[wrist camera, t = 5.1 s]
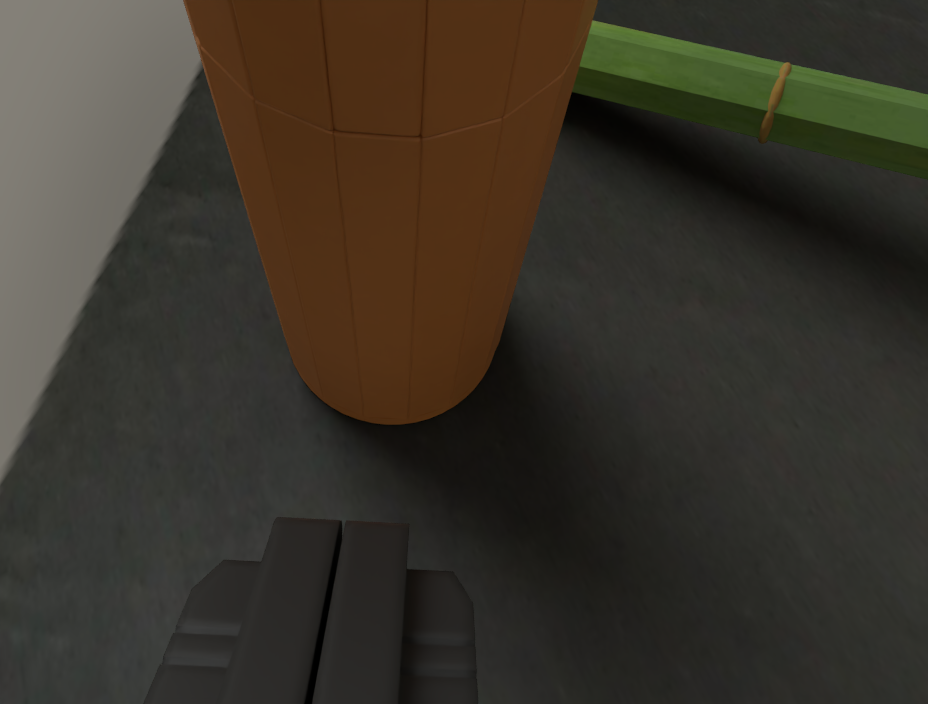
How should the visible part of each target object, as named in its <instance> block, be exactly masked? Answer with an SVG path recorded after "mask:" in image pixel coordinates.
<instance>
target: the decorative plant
mask: <svg viewBox="0 0 928 704" xmlns="http://www.w3.org/2000/svg"><path fill="white" fill-rule="evenodd" d="M572 92H575V93H579V94H583V95H587V96H591V97H595V98H599V99H603V100H607V101H611V102H615V103H619V104H623V105H627V106H631V107H635V108H640V109H644V110H648V111H652V112H656V113H660V114H664V115H668V116H672V117H676V118H680V119H684V120H688V121H692V122H696V123H700V124H704V125H708V126H713V127H717V128H721V129H725V130H729V131H733V132H737V133H741V134H745V135H749V136H753V137H757V138H758V141H759V142H760V143H761V144H764V143H766V142H767V141H768V140H769V141H773V142H777V143H782V144H786V145H790V146H794V147H798V148H802V149H806V150H810V151H814V152H818V153H822V154H826V155H830V156H834V157H838V158H842V159H846V160H851V161H855V162H859V163H863V164H867V165H871V166H875V167H879V168H883V169H887V170H891V171H895V172H899V173H903V174H907V175H911V176H915V177H920V178H924V179H928V95H927V94H923V93H918V92H914V91H909V90H905V89H900V88H896V87H891V86H887V85H882V84H877V83H873V82H868V81H864V80H859V79H855V78H850V77H846V76H841V75H837V74H832V73H828V72H823V71H819V70H814V69H810V68H805V67H800V66H796V65H791V64H790V63H789V62H787V63H782V62H778V61H773V60H769V59H764V58H760V57H755V56H751V55H746V54H742V53H737V52H733V51H728V50H723V49H719V48H714V47H710V46H705V45H701V44H696V43H692V42H687V41H683V40H678V39H674V38H669V37H665V36H660V35H656V34H651V33H646V32H642V31H637V30H633V29H628V28H624V27H619V26H615V25H610V24H606V23H601V22H597V21H592V24H591V28H590V31H589V34H588V38H587V41H586V45H585V48H584V52H583V55H582V59H581V62H580V65H579V69H578V72H577V76H576V79H575V83H574V86H573V90H572Z"/></svg>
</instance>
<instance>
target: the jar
mask: <svg viewBox="0 0 928 704" xmlns="http://www.w3.org/2000/svg"><path fill="white" fill-rule="evenodd" d="M183 1H184V4H185V8H186V11H187V15H188V18H189V21H190V25H191V28H192V31H193V34H194V38H195V41H196V44H197V47H198V51H199V54H200V57H201V61H202V64H203V68H204V71H205V74H206V78H207V81H208V84H209V87H210V91H211V94H212V97H213V101H214V104H215V107H216V111H217V114H218V117H219V121H220V124H221V127H222V131H223V134H224V137H225V140H226V144H227V147H228V150H229V154H230V157H231V160H232V164H233V167H234V170H235V174H236V177H237V180H238V184H239V187H240V190H241V194H242V197H243V200H244V203H245V207H246V210H247V213H248V217H249V220H250V223H251V227H252V230H253V233H254V237H255V240H256V243H257V247H258V250H259V253H260V256H261V260H262V263H263V266H264V270H265V273H266V276H267V280H268V283H269V286H270V290H271V293H272V296H273V300H274V303H275V306H276V309H277V313H278V316H279V319H280V323H281V326H282V329H283V332H284V336H285V339H286V342H287V345H288V348H289V351H290V355H291V357H292V360H293V363H294V366H295V367H296V369H297V371H298V372H299V374H300V376H301V378H302V379H303V381H304V382H305V383H306V384H307V386H308V387H309V388H310V389H311V391H313V392H314V393H315V394H316V395H317V396H318V397H319V398H320V399H321V400H322V401H324V402H325V403H326V404H328V405H329V406H331V407H332V408H334V409H336V410H337V411H339V412H341V413H343V414H345V415H347V416H350V417H353V418H355V419H358V420H362V421H366V422H370V423H376V424H385V425H400V424H408V423H415V422H419V421H423V420H426V419H430V418H432V417H435V416H437V415H439V414H442V413H444V412H445V411H447V410H449V409H451V408H452V407H454V406H456V405H457V404H458V403H459V402H461V401H462V400H463V399H465V398H466V397H467V396H468V395H469V394H470V393H471V392H472V391H473V390H474V389H475V388H476V386H477V385H478V384H479V382H480V381H481V380H482V378H483V377H484V375H485V373H486V371H487V370H488V368H489V366H490V363H491V361H492V358H493V356H494V352H495V350H496V348H497V346H498V344H499V341H500V338H501V334H502V331H503V327H504V324H505V320H506V317H507V314H508V310H509V307H510V303H511V300H512V296H513V293H514V289H515V286H516V283H517V279H518V276H519V272H520V269H521V265H522V262H523V258H524V255H525V252H526V248H527V245H528V241H529V238H530V234H531V231H532V227H533V224H534V221H535V217H536V214H537V210H538V207H539V203H540V200H541V196H542V193H543V190H544V186H545V183H546V179H547V176H548V172H549V169H550V165H551V162H552V159H553V155H554V152H555V148H556V145H557V141H558V138H559V134H560V131H561V127H562V124H563V121H564V117H565V114H566V110H567V107H568V103H569V100H570V96H571V93H572V90H573V86H574V83H575V79H576V76H577V72H578V69H579V65H580V62H581V59H582V55H583V52H584V48H585V45H586V41H587V38H588V34H589V31H590V28H591V24H592V19H593V16H594V12H595V9H596V6H597V2H598V0H183Z"/></svg>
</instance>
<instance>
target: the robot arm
mask: <svg viewBox="0 0 928 704" xmlns="http://www.w3.org/2000/svg"><path fill="white" fill-rule="evenodd" d="M408 536H409V524H399V523H381V522H363V521H346V523H345V528H344V533H343V538H342V521H340V520H322V519H304V518H286V517H277V518H276V519H275V521H274V524H273V527H272V530H271V533H270V536H269V539H268V543H267V546H266V549H265V552H264V555H263V558H262V561H261V562H255V561H236V560H223V561H222V562H221V563H220V564H219V565H218V566H216V567H215V568H214V569H213V570H212V571H211V572H210V573H209V574H208V575H207V576H206V577H205V578H203V579H202V580H201V581H200V582H199V583H198V584H197V585H196V586H195V587H194V588H193V589H192V590H191V592H190V594H189V597H188V599H187V601H186V604H185V606H184V609H183V611H182V613H181V616H180V618H179V620H178V623H177V625H176V632H175V633H173V635H172V637H171V639H170V642H169V644H168V647H167V649H166V651H165V654H164V656H163V663H162V665H160V666H159V668H158V670H157V673H156V675H155V677H154V680H153V682H152V684H151V687H150V689H149V692H148V694H147V696H146V699H145V701H144V703H143V704H478V689H477V679H476V672H477V669H476V648H475V628H474V608H473V602H472V601H471V599H470V597H469V596H468V594H467V593H466V591H465V590H464V588H463V586H462V585H461V583H460V582H459V580H458V579H457V577H456V575H455V574H454V572H451V571H432V570H413V569H406V568H407V552H408Z"/></svg>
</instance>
